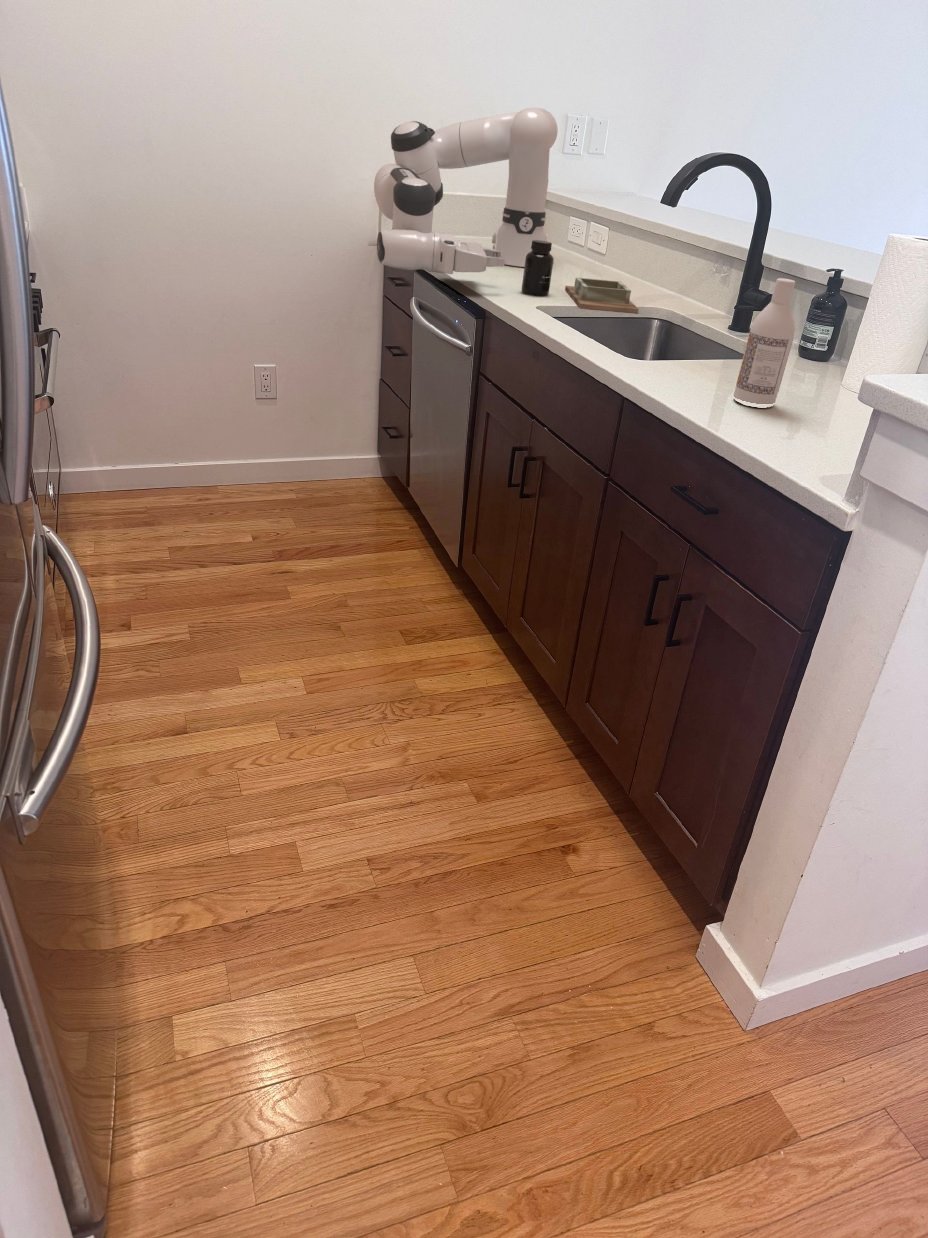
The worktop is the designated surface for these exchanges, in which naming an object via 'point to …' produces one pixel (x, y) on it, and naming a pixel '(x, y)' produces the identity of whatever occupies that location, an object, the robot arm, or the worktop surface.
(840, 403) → the worktop surface
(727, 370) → the worktop surface
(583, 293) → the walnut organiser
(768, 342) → the bath foam
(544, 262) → the supplement bottle
